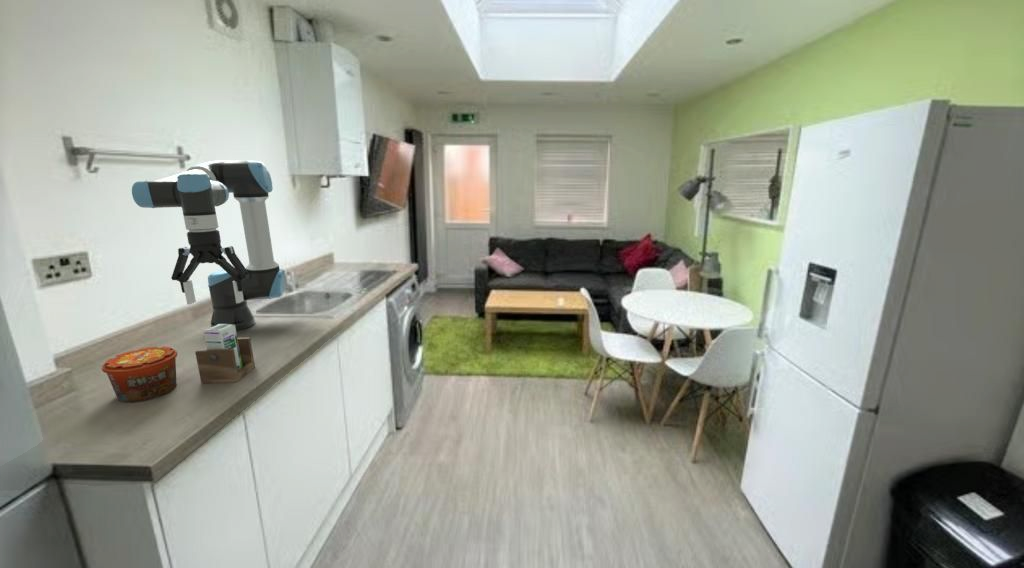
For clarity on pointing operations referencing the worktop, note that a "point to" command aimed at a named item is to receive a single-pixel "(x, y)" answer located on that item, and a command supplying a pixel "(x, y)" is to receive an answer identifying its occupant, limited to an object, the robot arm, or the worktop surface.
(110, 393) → the worktop surface
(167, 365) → the food container
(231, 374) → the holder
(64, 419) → the worktop surface
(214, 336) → the syrup box
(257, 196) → the robot arm
